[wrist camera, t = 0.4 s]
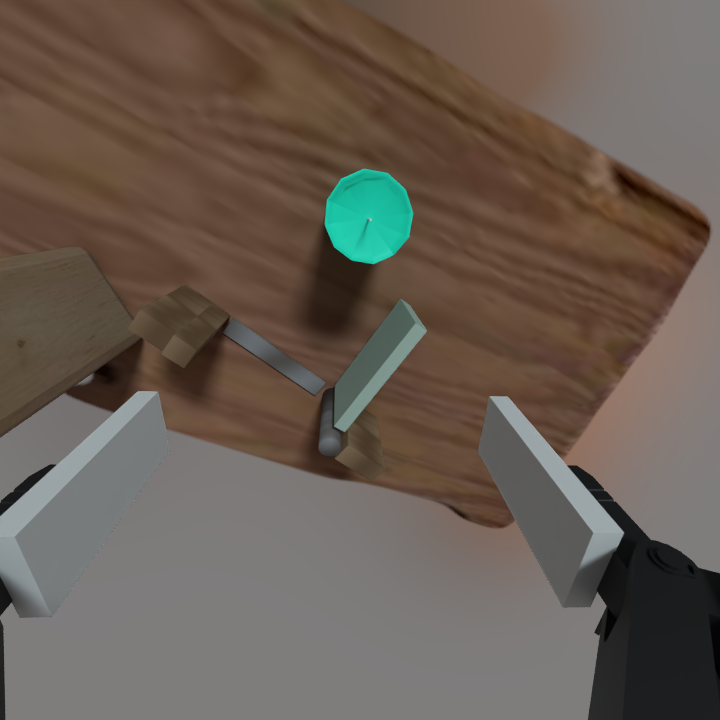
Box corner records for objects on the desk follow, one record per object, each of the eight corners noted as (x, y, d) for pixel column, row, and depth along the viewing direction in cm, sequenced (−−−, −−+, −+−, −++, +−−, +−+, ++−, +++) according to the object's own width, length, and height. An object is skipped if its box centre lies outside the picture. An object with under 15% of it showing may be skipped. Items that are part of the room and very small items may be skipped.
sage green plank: (343, 390, 41) (344, 432, 33) (334, 385, 40) (334, 426, 33) (409, 305, 37) (427, 330, 30) (400, 298, 37) (415, 322, 29)
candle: (315, 206, 33) (303, 210, 22) (367, 162, 32) (382, 143, 21) (354, 259, 35) (361, 286, 24) (404, 220, 34) (435, 229, 23)
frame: (175, 299, 36) (123, 331, 27) (186, 284, 35) (136, 311, 27) (365, 428, 43) (372, 485, 35) (376, 417, 43) (385, 472, 34)
